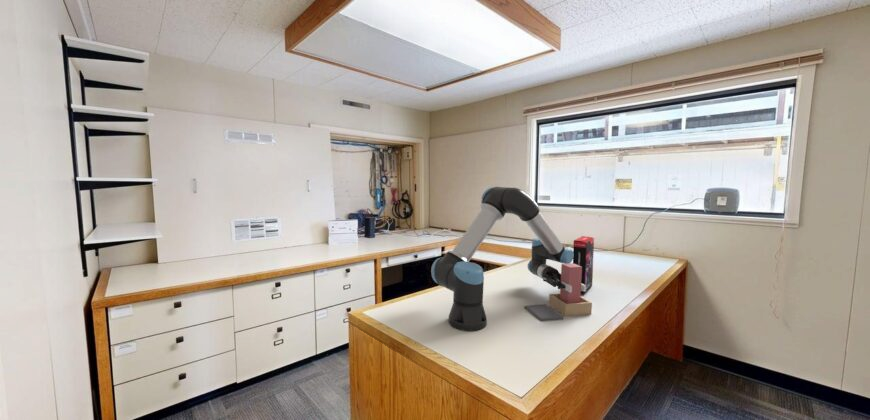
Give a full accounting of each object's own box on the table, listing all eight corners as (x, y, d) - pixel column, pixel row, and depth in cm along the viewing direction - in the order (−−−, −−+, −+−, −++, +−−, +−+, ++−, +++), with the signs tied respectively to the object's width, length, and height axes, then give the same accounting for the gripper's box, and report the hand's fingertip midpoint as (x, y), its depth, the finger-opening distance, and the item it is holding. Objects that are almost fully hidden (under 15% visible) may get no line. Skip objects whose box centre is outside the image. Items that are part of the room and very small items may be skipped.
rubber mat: (541, 321, 133) (541, 318, 133) (524, 307, 147) (524, 305, 147) (563, 319, 135) (563, 316, 135) (545, 306, 149) (545, 304, 149)
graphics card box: (584, 295, 164) (587, 241, 162) (570, 292, 168) (573, 239, 166) (592, 286, 178) (595, 237, 175) (578, 284, 182) (581, 235, 179)
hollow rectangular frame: (565, 316, 138) (565, 304, 138) (548, 304, 151) (549, 294, 150) (591, 313, 141) (591, 302, 140) (573, 303, 153) (573, 292, 153)
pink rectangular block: (567, 312, 142) (569, 267, 140) (559, 307, 148) (561, 263, 146) (579, 311, 143) (582, 266, 142) (571, 306, 149) (573, 263, 147)
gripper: (565, 280, 165) (596, 296, 142) (530, 282, 161) (557, 298, 138) (566, 265, 164) (598, 279, 141) (531, 267, 160) (558, 281, 137)
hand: (577, 288), depth 140 cm, fingers closed on pink rectangular block, 6 cm apart
